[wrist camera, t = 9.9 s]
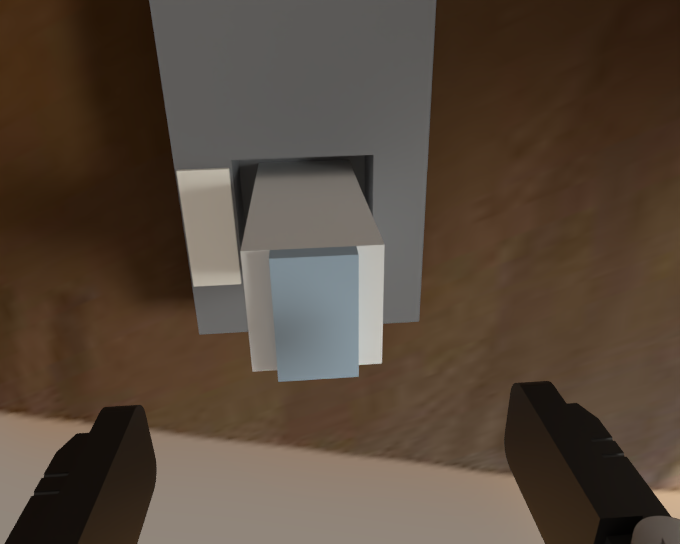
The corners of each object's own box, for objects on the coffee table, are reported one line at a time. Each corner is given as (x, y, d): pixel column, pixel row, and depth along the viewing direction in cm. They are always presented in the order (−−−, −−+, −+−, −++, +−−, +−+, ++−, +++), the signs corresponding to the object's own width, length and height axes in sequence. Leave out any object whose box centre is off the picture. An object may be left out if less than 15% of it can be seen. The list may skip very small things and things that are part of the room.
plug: (348, 159, 24) (388, 253, 14) (349, 242, 26) (385, 375, 16) (258, 163, 24) (238, 260, 14) (265, 246, 25) (251, 383, 16)
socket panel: (431, -367, 17) (462, -452, 14) (405, 289, 28) (419, 323, 25) (116, -377, 17) (76, -469, 14) (209, 299, 27) (198, 336, 24)
